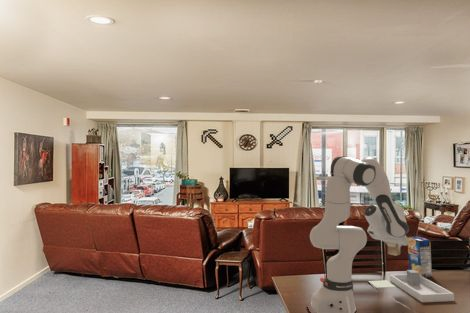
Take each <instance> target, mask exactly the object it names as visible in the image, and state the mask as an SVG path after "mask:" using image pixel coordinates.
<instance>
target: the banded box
mask: <svg viewBox="0 0 470 313" xmlns="http://www.w3.org/2000/svg"><path fill="white" fill-rule="evenodd" d="M396 245H397V244H395V243H391V242H388V245H387V255H391V256H400V255H401V247H397V246H396Z"/></svg>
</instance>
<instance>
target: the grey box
mask: <svg viewBox="0 0 470 313" xmlns="http://www.w3.org/2000/svg"><path fill="white" fill-rule="evenodd" d="M406 274H407V283H408V284H410V285H411V286H419V285H420V275H419V272H418V271H416V270H409V269H407V270H406Z"/></svg>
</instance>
